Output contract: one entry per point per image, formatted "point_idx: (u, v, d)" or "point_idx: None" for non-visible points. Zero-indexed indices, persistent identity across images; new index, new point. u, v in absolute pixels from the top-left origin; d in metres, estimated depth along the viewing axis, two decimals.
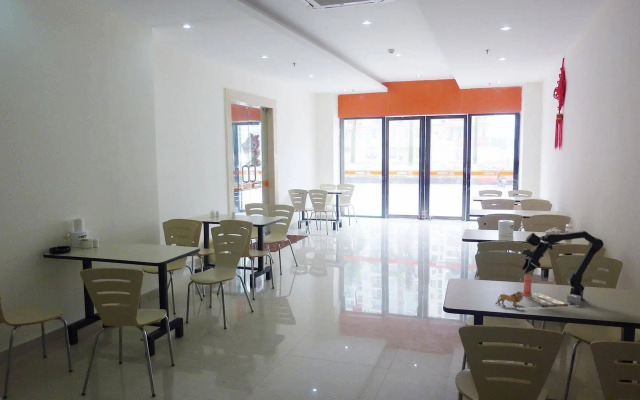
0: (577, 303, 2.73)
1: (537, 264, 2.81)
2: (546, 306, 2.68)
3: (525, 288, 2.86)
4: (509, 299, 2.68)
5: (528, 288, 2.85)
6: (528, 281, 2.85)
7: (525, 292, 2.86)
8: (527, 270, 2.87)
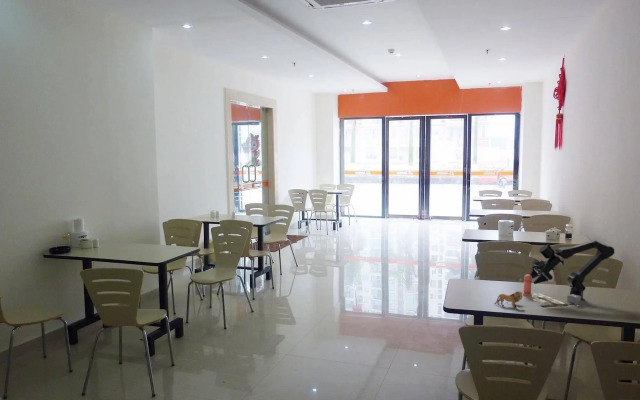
0: (577, 303, 2.73)
1: (550, 277, 2.77)
2: (546, 306, 2.68)
3: (525, 288, 2.86)
4: (508, 299, 2.68)
5: (528, 288, 2.85)
6: (528, 281, 2.85)
7: (525, 292, 2.86)
8: (537, 281, 2.81)
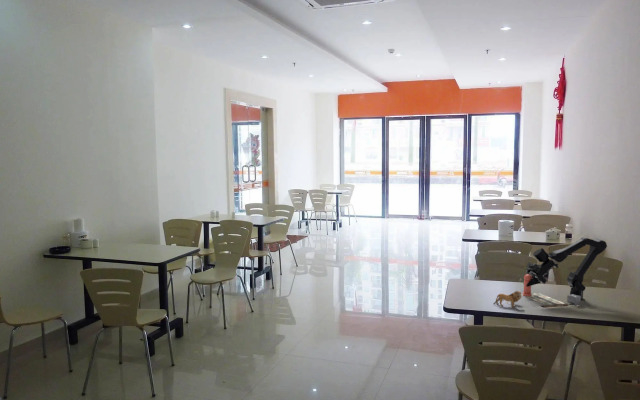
0: (577, 303, 2.73)
1: (544, 280, 2.77)
2: (546, 306, 2.68)
3: (525, 288, 2.86)
4: (507, 299, 2.68)
5: (528, 288, 2.85)
6: (528, 281, 2.85)
7: (525, 292, 2.86)
8: (529, 284, 2.84)
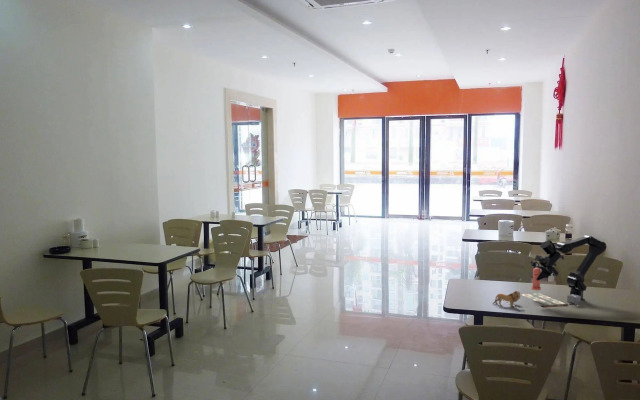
0: (577, 303, 2.73)
1: (556, 273, 2.70)
2: (546, 306, 2.68)
3: (535, 282, 2.77)
4: (506, 299, 2.68)
5: (538, 282, 2.77)
6: (538, 275, 2.76)
7: (535, 286, 2.77)
8: (540, 277, 2.76)
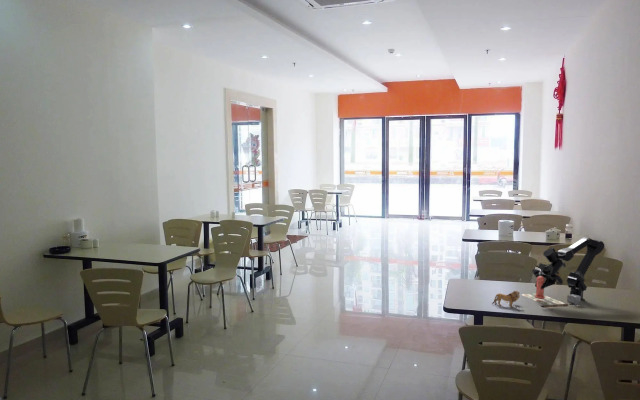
0: (577, 303, 2.73)
1: (561, 281, 2.69)
2: (546, 306, 2.68)
3: (539, 291, 2.75)
4: (505, 299, 2.68)
5: (542, 290, 2.74)
6: (542, 283, 2.74)
7: (539, 295, 2.75)
8: (544, 286, 2.73)
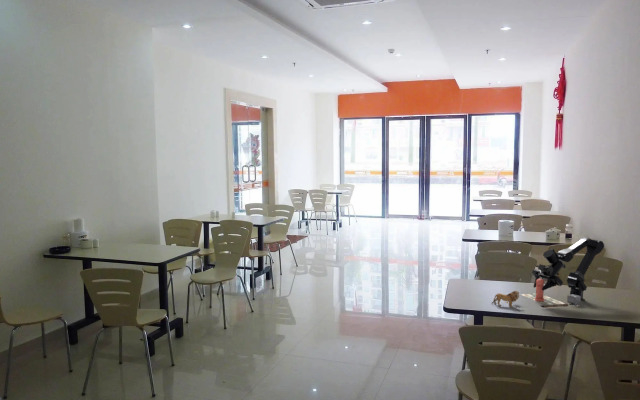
0: (577, 303, 2.73)
1: (561, 282, 2.69)
2: (546, 306, 2.68)
3: (539, 293, 2.75)
4: (505, 299, 2.69)
5: (542, 293, 2.75)
6: (542, 286, 2.74)
7: (539, 297, 2.75)
8: (545, 287, 2.72)
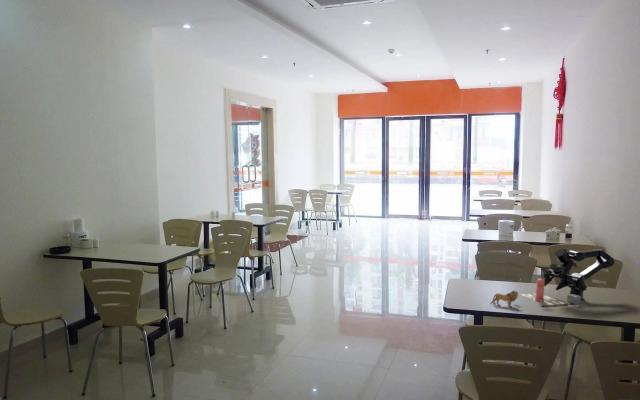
0: (577, 303, 2.73)
1: (572, 281, 2.72)
2: (546, 306, 2.68)
3: (539, 293, 2.75)
4: (504, 298, 2.69)
5: (542, 293, 2.75)
6: (542, 286, 2.74)
7: (539, 297, 2.75)
8: (559, 287, 2.74)
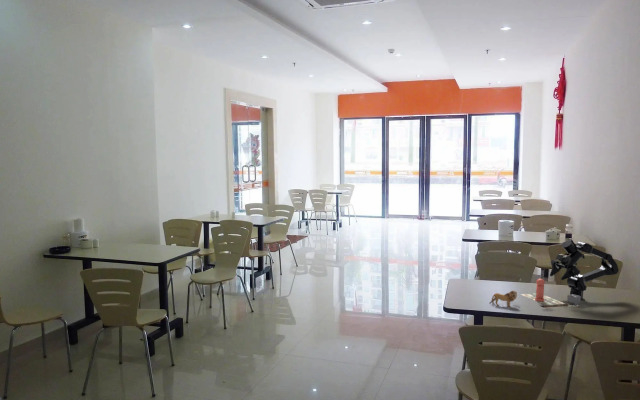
0: (577, 303, 2.73)
1: (578, 272, 2.74)
2: (546, 306, 2.68)
3: (539, 293, 2.75)
4: (503, 298, 2.69)
5: (542, 293, 2.75)
6: (542, 286, 2.74)
7: (539, 297, 2.75)
8: (564, 277, 2.76)
